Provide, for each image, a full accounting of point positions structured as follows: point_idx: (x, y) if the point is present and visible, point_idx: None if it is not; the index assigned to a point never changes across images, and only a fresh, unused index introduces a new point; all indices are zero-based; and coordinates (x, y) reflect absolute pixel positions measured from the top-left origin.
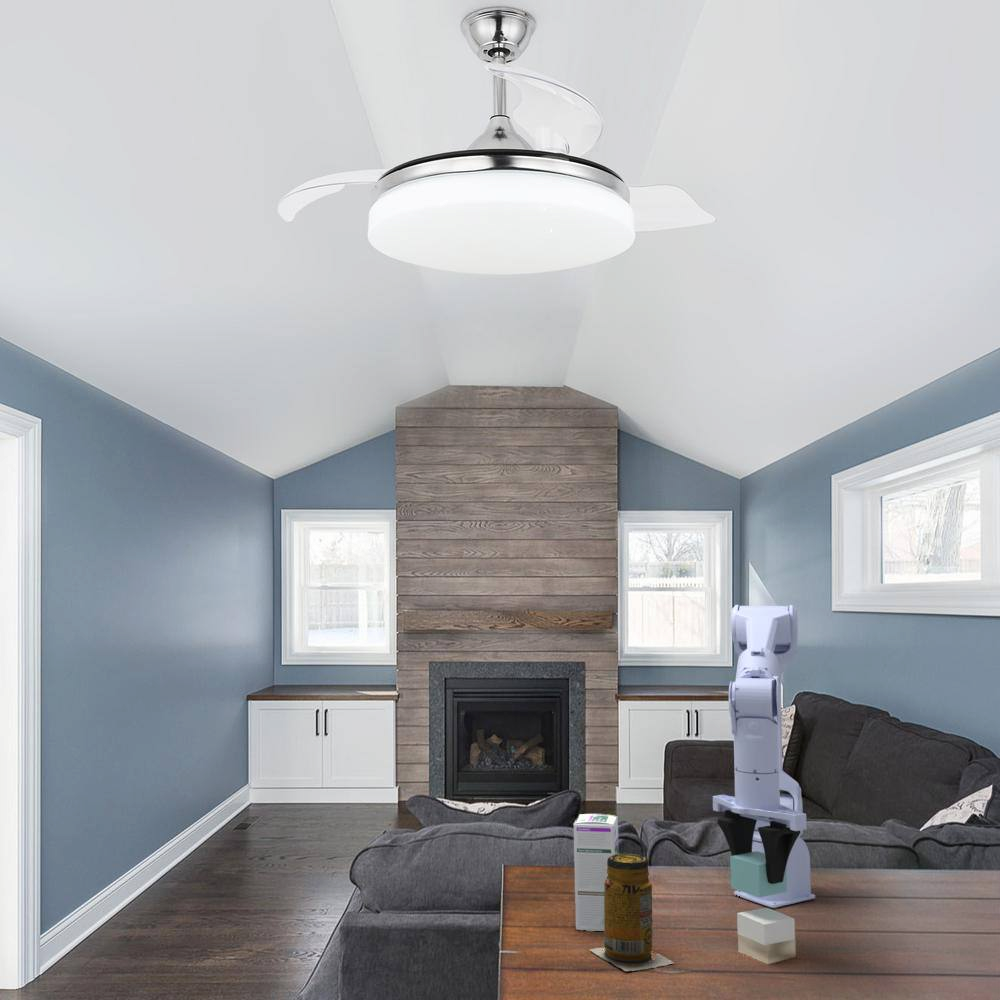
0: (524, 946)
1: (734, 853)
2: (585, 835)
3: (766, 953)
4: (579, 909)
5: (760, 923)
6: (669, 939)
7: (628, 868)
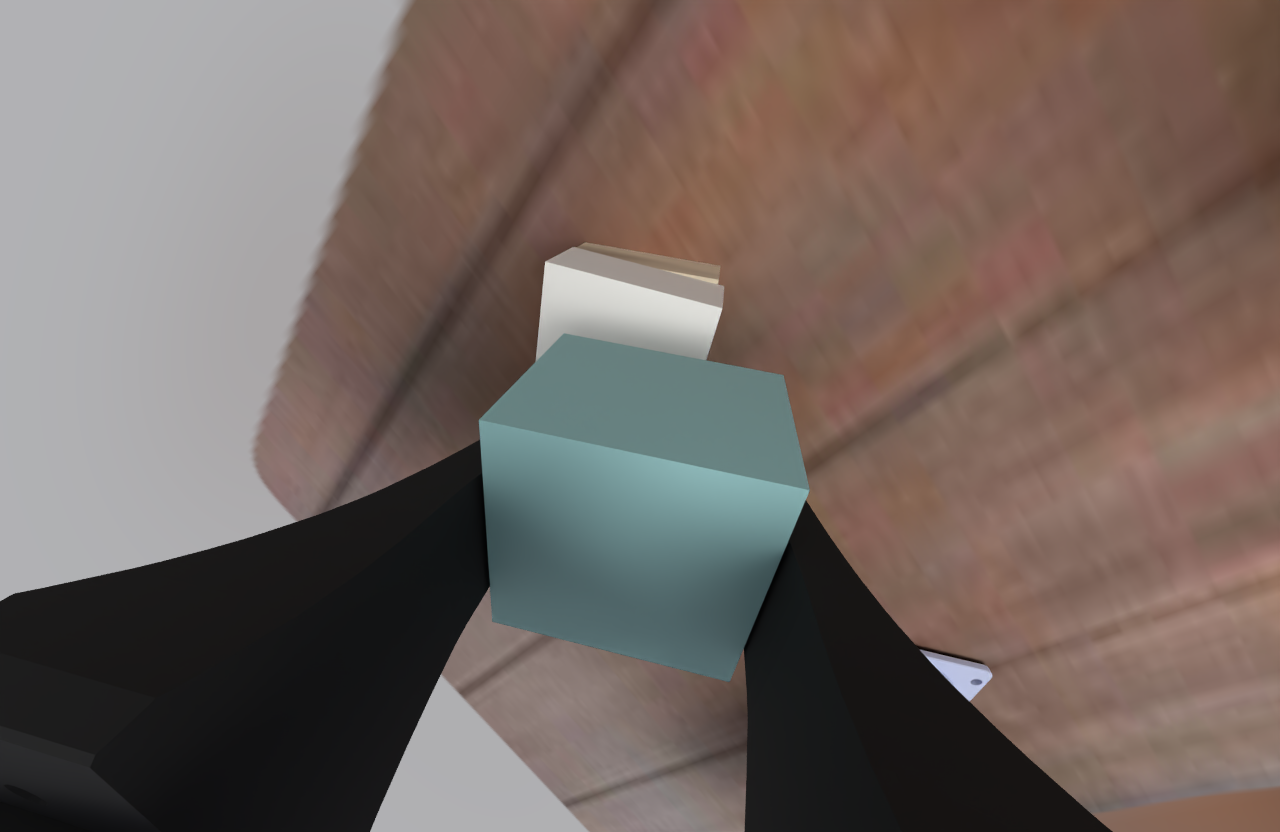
0: None
1: (809, 558)
2: None
3: (580, 248)
4: None
5: (570, 268)
6: (1031, 160)
7: None
